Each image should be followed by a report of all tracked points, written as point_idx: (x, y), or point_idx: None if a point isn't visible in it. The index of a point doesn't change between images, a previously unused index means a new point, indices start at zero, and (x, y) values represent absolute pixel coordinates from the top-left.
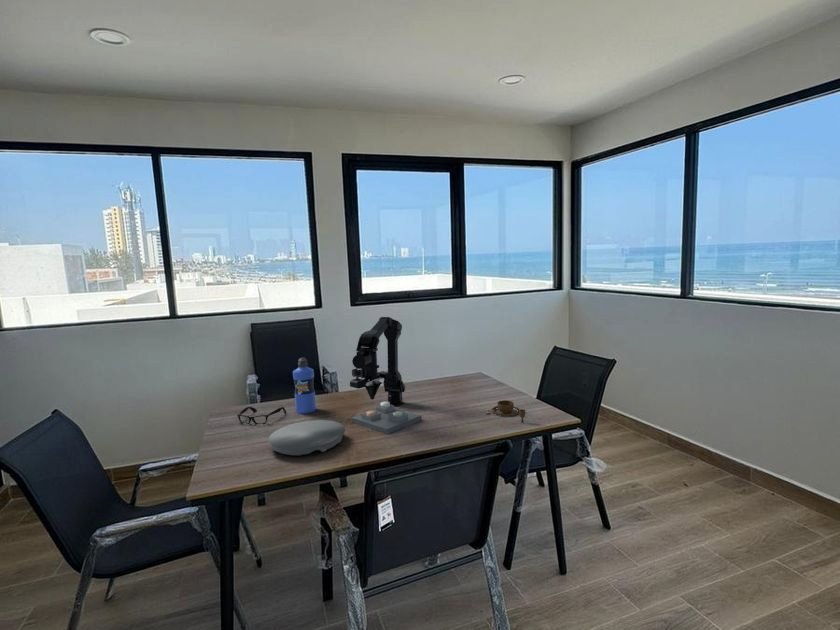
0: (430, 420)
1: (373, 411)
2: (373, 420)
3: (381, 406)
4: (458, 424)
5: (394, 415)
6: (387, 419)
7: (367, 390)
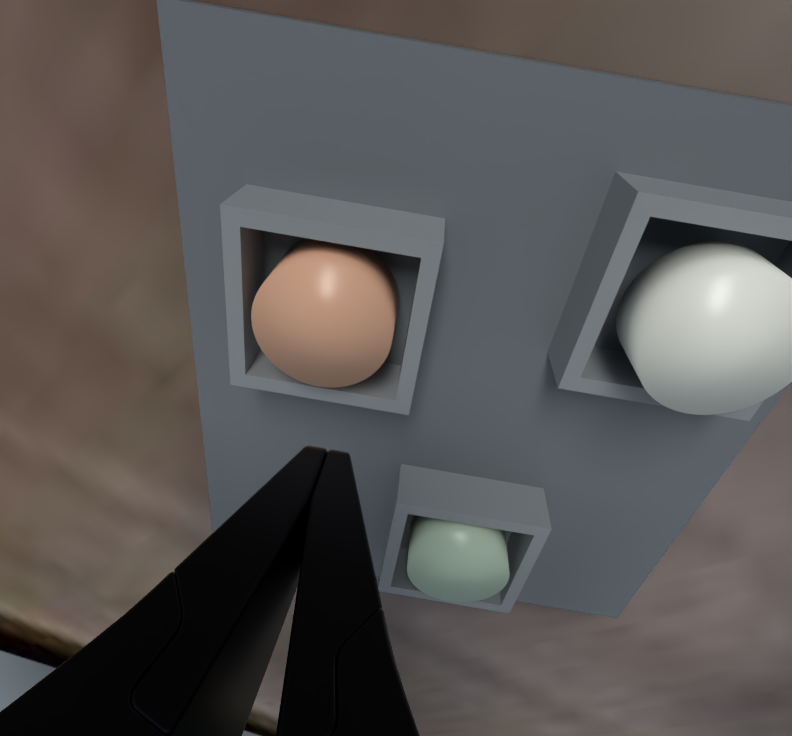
0: (614, 620)
1: (364, 341)
2: None
3: (633, 308)
4: (593, 721)
5: (408, 554)
6: (392, 461)
7: (117, 643)
